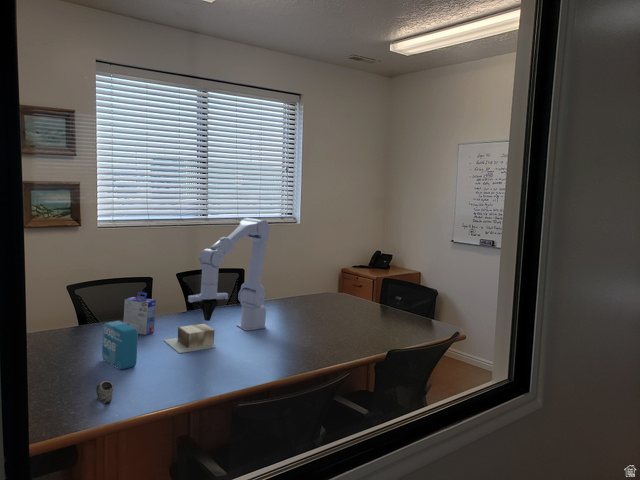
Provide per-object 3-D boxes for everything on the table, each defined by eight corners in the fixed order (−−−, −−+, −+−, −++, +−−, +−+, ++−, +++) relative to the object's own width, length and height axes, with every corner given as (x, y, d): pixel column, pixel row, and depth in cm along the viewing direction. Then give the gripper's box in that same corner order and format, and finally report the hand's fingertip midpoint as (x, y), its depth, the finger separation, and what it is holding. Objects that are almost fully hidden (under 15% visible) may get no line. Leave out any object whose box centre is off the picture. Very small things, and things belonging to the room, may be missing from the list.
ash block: (204, 323, 171) (178, 327, 165) (214, 329, 165) (187, 333, 159) (203, 336, 172) (177, 340, 166) (213, 343, 166) (186, 347, 160)
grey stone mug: (102, 406, 116) (103, 387, 116) (92, 397, 120) (92, 379, 120) (116, 402, 119) (117, 383, 118) (105, 393, 123) (106, 375, 122)
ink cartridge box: (155, 331, 174) (157, 293, 173) (146, 335, 169) (148, 296, 167) (131, 327, 176) (132, 289, 175) (122, 331, 171) (123, 292, 169)
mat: (197, 335, 174) (197, 334, 174) (215, 347, 163) (215, 346, 163) (163, 340, 165) (163, 339, 165) (179, 353, 155) (179, 352, 155)
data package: (101, 359, 144) (102, 322, 143) (115, 356, 148) (117, 319, 147) (122, 371, 137) (124, 332, 136) (136, 367, 141) (138, 329, 139)
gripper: (222, 279, 174) (220, 314, 175) (185, 281, 164) (183, 319, 166) (231, 283, 168) (229, 320, 170) (193, 285, 159) (191, 324, 160)
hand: (207, 320), depth 167 cm, fingers closed
